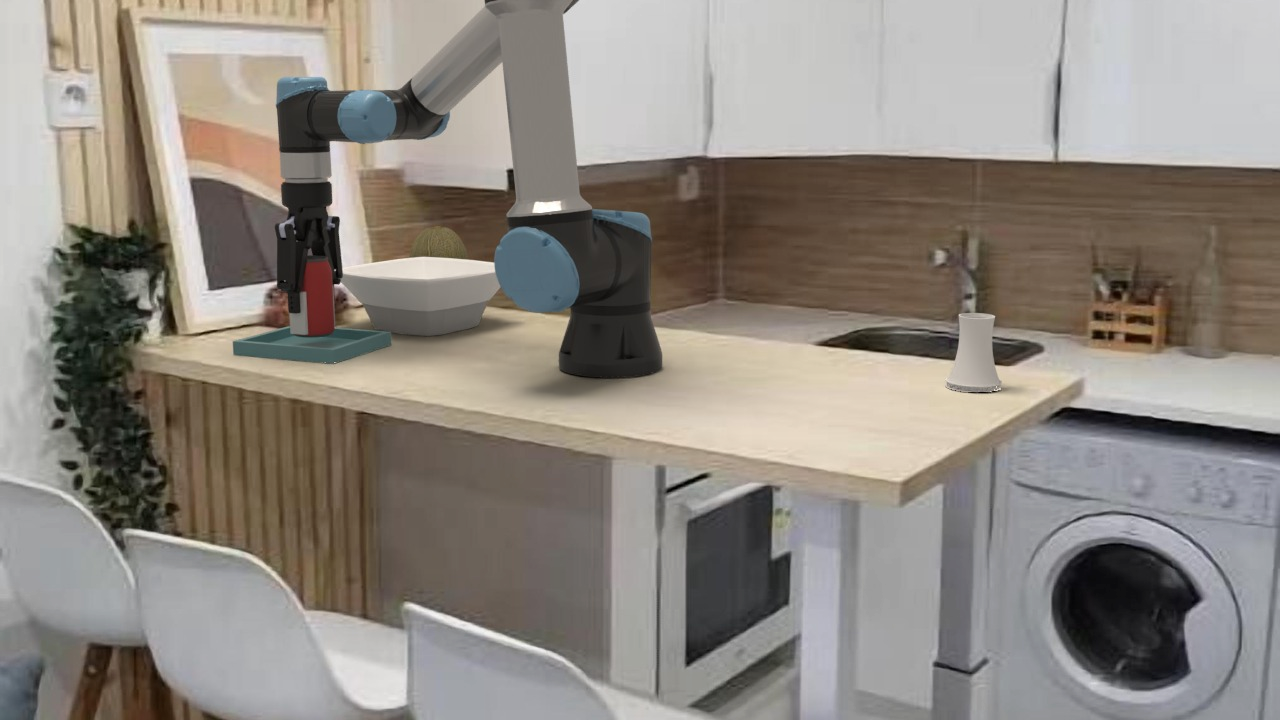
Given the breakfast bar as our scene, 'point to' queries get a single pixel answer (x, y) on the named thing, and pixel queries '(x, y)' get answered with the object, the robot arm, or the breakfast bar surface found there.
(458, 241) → the fruit
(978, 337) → the cooling tower model
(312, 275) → the beer can
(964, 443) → the breakfast bar surface
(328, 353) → the tray
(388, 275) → the bowl
